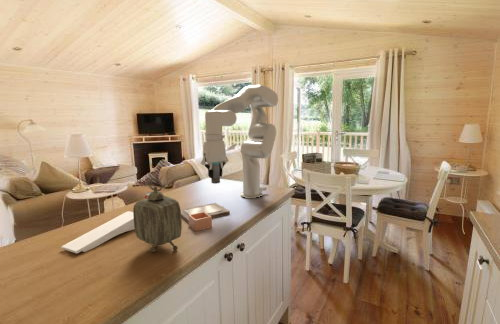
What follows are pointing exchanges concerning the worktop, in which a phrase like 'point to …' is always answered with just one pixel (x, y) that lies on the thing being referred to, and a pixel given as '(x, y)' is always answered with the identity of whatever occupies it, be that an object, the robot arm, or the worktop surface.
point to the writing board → (210, 209)
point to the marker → (216, 173)
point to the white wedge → (101, 233)
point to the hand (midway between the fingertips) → (215, 176)
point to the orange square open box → (200, 221)
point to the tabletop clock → (157, 219)
